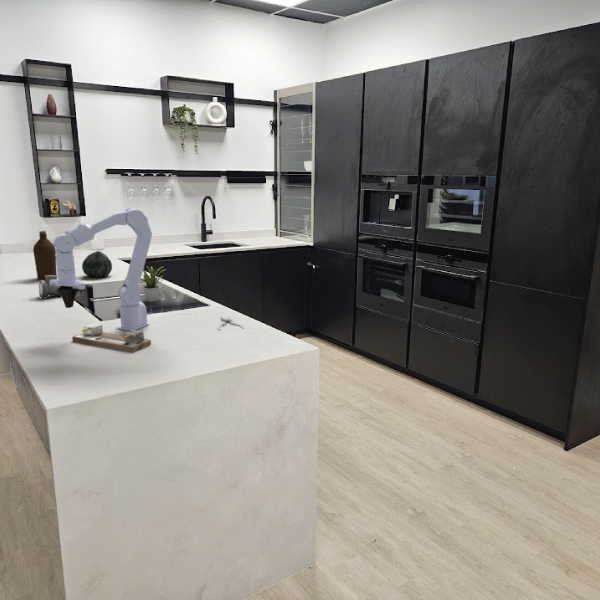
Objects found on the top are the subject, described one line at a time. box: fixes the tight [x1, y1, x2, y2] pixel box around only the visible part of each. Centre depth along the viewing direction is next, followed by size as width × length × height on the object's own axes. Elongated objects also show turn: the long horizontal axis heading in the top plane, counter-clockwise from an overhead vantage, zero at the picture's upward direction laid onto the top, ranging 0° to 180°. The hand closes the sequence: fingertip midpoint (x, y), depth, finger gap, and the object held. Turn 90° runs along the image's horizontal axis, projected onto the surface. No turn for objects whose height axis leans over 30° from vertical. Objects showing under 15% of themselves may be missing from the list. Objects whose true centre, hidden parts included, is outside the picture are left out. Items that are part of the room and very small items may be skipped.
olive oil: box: [32, 230, 58, 281], centre depth 277 cm, size 11×11×25 cm
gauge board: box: [72, 329, 152, 353], centre depth 178 cm, size 9×26×4 cm, turn 67°
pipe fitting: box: [38, 275, 61, 299], centre depth 240 cm, size 12×8×10 cm
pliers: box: [216, 315, 245, 331], centre depth 203 cm, size 10×2×15 cm
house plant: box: [140, 265, 168, 303], centre depth 235 cm, size 14×14×16 cm
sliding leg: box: [81, 322, 104, 336], centre depth 181 cm, size 7×4×3 cm, turn 157°
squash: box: [81, 250, 113, 278], centre depth 285 cm, size 14×15×15 cm
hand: (69, 307), depth 184 cm, fingers closed
